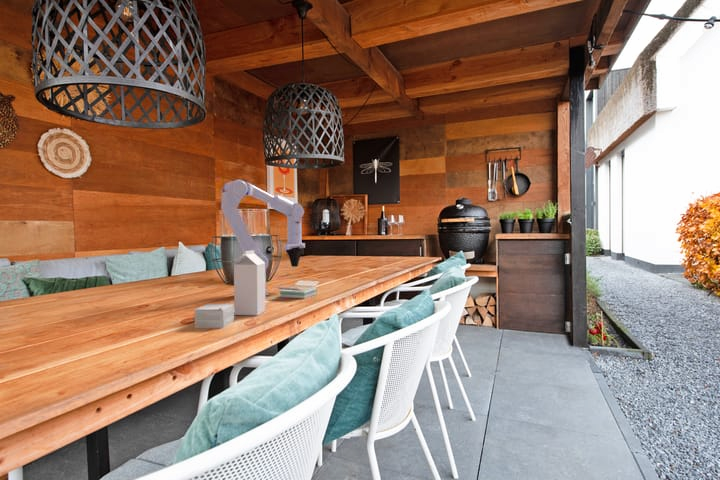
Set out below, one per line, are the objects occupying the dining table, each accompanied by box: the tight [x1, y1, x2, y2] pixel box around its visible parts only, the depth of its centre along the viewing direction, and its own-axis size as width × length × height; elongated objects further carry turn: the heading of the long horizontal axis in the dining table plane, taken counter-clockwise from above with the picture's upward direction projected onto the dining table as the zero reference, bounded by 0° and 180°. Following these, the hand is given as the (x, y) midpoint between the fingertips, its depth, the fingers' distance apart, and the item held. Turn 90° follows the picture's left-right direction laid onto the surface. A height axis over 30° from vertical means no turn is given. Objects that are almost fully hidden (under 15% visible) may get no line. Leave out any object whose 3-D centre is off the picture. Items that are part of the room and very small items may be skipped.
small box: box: [194, 303, 235, 329], centre depth 107 cm, size 8×8×5 cm
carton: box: [279, 285, 318, 300], centre depth 151 cm, size 10×10×3 cm
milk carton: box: [233, 250, 266, 316], centre depth 120 cm, size 7×7×19 cm
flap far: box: [293, 279, 320, 288], centre depth 157 cm, size 1×9×4 cm
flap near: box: [275, 286, 303, 291], centre depth 144 cm, size 1×9×4 cm
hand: (294, 266), depth 162 cm, fingers closed
